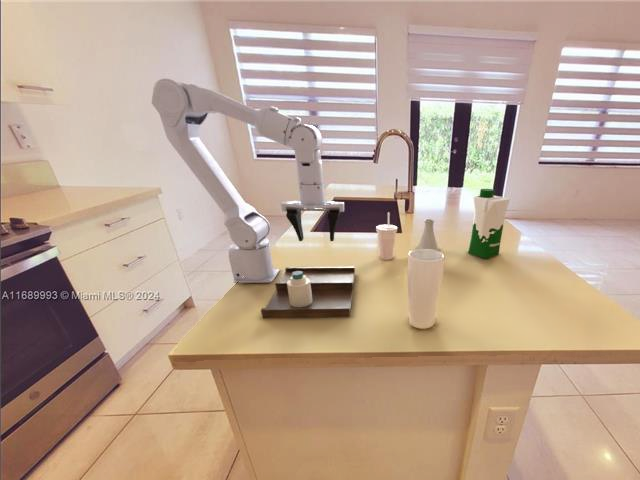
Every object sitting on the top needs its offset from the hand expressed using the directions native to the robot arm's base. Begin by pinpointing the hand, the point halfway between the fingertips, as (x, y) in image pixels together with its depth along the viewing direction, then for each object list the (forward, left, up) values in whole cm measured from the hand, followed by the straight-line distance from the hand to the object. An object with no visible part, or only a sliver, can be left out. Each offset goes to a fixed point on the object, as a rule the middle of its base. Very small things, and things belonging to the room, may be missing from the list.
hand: (316, 240), depth 79 cm
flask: (+32, +22, -11) cm, 40 cm away
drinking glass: (+24, -23, -11) cm, 35 cm away
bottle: (-2, -15, -9) cm, 18 cm away
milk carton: (+50, +18, -11) cm, 54 cm away
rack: (0, -9, -10) cm, 14 cm away
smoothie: (+18, +15, -11) cm, 26 cm away
